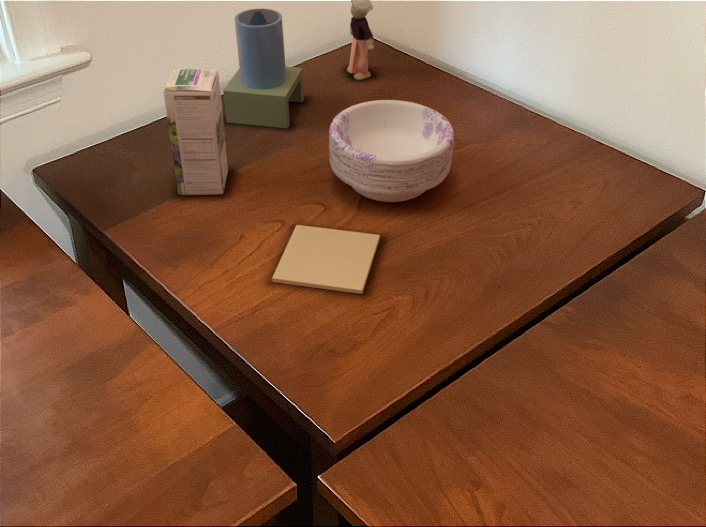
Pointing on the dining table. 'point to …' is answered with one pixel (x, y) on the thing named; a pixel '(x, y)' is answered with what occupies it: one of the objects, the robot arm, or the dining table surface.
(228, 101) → the shelf
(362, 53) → the grandmother figurine
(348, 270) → the mat
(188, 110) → the syrup box
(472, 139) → the dining table surface
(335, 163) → the paper bowls
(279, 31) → the cup
